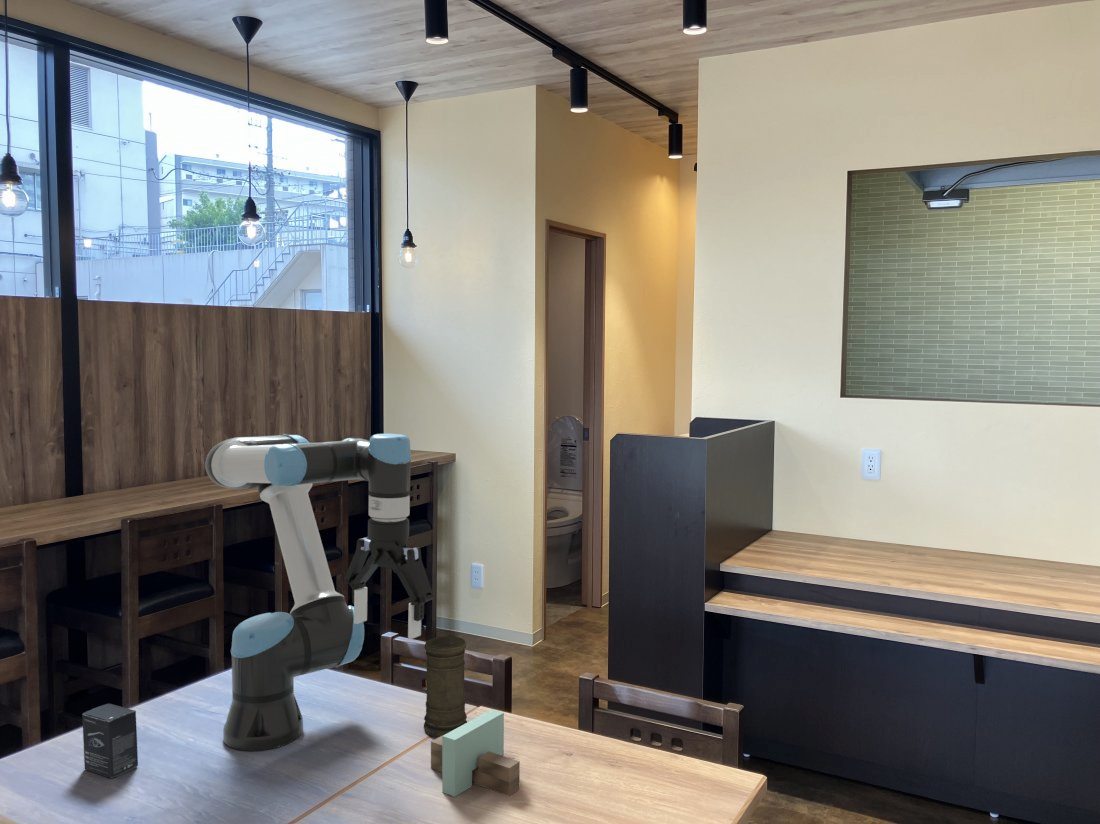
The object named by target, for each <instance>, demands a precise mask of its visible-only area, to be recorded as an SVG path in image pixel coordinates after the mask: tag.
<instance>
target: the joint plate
mask: <svg viewBox="0 0 1100 824" xmlns="http://www.w3.org/2000/svg"><path fill="white" fill-rule="evenodd" d="M504 716H505V712H503V711H500V710H496V709H490V710H488V711H486V712H483V714H481V715H478V716H476V717H475V718H473V719H471V720H470V721H467V723H465V724H464V725H462V726H460V727H458V728H456V729H454V730H453V731H451V732H449V733H447V734H445V735H443V736H442V772H441V774H442V775H441V777H442V779H441V781H442V789H441V791H442V793H444V794H446V795H449V796H452V797H455V798H456V797H457V796H458V795H460V794H462V793H464V791H466V790H468V789H470V788H471V787H472V786H473V783H472V771H473V770H474V769H476V768H477V767H478V758H479V757H480V756H482V755H484V754H485V753H487V752H489V751H490V752H493V753H496V754H499V755H502V756H504V754H505V753H504V752H505V751H504V750H505V747H504V744H505V741H504V740H505V737H504V736H505V735H504V734H505V733H504V732H505V728H504V727H505V725H504V724H505V717H504Z"/></svg>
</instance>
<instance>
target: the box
mask: <svg viewBox="0 0 1100 824" xmlns="http://www.w3.org/2000/svg"><path fill="white" fill-rule="evenodd" d="M81 715H82V716H81V718H82V719H81V720H82V738H83V739H82V740H83V759H84V760H83V761H84V762H83V763H84V770H86V771H89V772H91V773H95V774H98V775H101V776H103V777H107V778H109V779H113V778H116V777H117V778H118V777H119V776H121V775H123V774H125V773H127V772H130V771H131V770H133V769H136V768H137V767H138V765H139V762H138V761H139V760H138V759H139V758H138V756H139V755H138V734H137V733H138V732H137V731H138V729H137V728H138V727H137V711H136V710H134V709H130V708H128V707H127V708H126V707H123V706H119V705H117V704H112V703H106V704H103V705H102V704H101V705H100V706H97V707H94V708H91V709H90V710H86V711H85V712H83V713H82V714H81Z"/></svg>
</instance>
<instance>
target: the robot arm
mask: <svg viewBox="0 0 1100 824" xmlns="http://www.w3.org/2000/svg"><path fill="white" fill-rule="evenodd" d="M411 462H412V454H411V440H410V438H409V437H408V436H407V435H404V434H401V433H399V434H398V433H376V434H373V435H371V436H370V438H369V440H368V439H364V438H362V437H361V438H360V437H349V438H344V439H343V440H337V441H336V440H335V441H324V442H323V441H322V442H309V440H308V439H306V437H303V436H301V435H299V434H287V433H283V434H279V435H263V436H260V435H259V436H236V437H231V438H227V439H225V440H222V441H221V442H219V443H217V444H216V445H214V446H213V447H212V448H211V449H210V450H209V451H208V454H207V455H206V459H205V463H204V468H205V471H206V475H207V476H208V477H209V480H211V481H212V482H213V483H214V484H215V485H217V486H219V487H222V488H225V489H228V490H250V489H254V490H255V489H257V490H258V494H259V497H260V500H261V501H263V502H265V503H267V504H269V509H270V511H271V517H272V519H273V524H274V527H275V531H276V535H277V539H278V543H279V548H280V551H281V555H282V559H283V562H284V566H285V569H286V574H287V577H288V582H289V584H290V585H289V586H290V589H291V593H292V597H293V600H294V604H293V607H292V608H291V610H290V612H289V613H288V612H286V611H285V612H284V611H276V612H275V611H274V612H265V613H260V614H257V615H254V616H251V617H249V618H247V619H245V620H243V621H242V622H240V623H239V624H238V625H237V626H236V627H235V628H234V630H233V631H232V638H231V640H232V641H231V648H230V654H231V683H232V684H231V686H232V687H231V689H232V695H231V696H232V697H231V698H232V699H231V704H230V707H229V711H228V714H227V717H226V720H225V721H226V722H225V724H223V725H224V726H223V733H222V735H223V736H222V737H223V739H224V740H223V743H224V742H225V743H226V744H227V745H228V746H227V745H226V744H225V743H224V744H225V745H226V746H227V747H229V748H231V749H234V748H235V749H234V750H238V751H247V752H248V751H250V752H251V751H256V752H257V751H265V750H271V749H275V748H279V747H282V746H285V745H288V744H290V743H292V742H293V741H296V740H297V739H298V738H300V736H301V735H302V734H303V731H304V720H303V715H302V713H301V709H300V707H299V704H298V701H297V699H296V696H295V693H294V692H295V691H294V681H295V680H294V679H295V678H297V677H300V676H303V675H307V674H311V673H315V672H319V671H320V672H321V671H323V670H328V669H331V668H339V667H340V666H343V665H345V664H348V663H352V662H354V661H355V660H356V659H357V658H358V657H359V656H360V653H361V651H362V649H363V644H364V642H365V641H364V640H365V624H364V623H365V622H367V621H368V587H367V584H366V583H367V582H368V580H369V579H370V578H371V576H372V575H373V574H374V572H375V571H377V569H378V567H379V568H386V569H387V570H388V569H389V570H392V571H393V573H395V574H397V578H398V579H399V580H400V582H401V584H402V586H403V587H404V590H406V593H407V595H408V596H409V598H410V600H411V602H409V603H408V614H407V615H408V621H407V623H408V624H407V627H408V628H407V639H409V640H413V639H415V638H418V637H421V636H422V620H424V619H425V604H426V603H427V602H429V601H431V600H434V598H435V596H434V592H433V590H432V587H431V583H430V580H429V578H428V575H427V572H426V569H425V566H424V563H423V561H422V550H421V548H420V547H419V546H418V547H413V548H412V547H411V548H410V547H408V545H407V541H408V538H409V537H410V519H409V518H408V517H409V516H410V511H411V509H410V508H411V507H410V505H411V503H410V502H411V501H410V500H411V499H410V498H411V497H410V490H411V466H412V465H411V464H412V463H411ZM351 480H362V481H366V482H368V516H369V517H370V518H369V519H368V520H367V536H366V537H363V538H358V539H357V540H356V549H355V553H354V554H353V556H352V559H351V562H350V564H349V567H348V569H347V571H346V573H345V576H344V579H343V583H344V584H345V585H349V586H350V587H351V589H352V597H351V601H352V605H347V602H346V599H345V598H346V597H345V596H344V595H343V594H342V593H340V592H337V591H336V589H335V585H334V582H333V579H332V575H331V571H330V567H329V563H328V560H327V557H326V553H325V549H324V546H323V543H322V539H321V535H320V532H319V528H318V525H317V521H316V518H315V517H316V516H315V514H314V510H313V506H312V503H311V499H310V497H309V492H310V490H311V489H312V488H313V484H317V483H330V482H340V481H351ZM369 553H371V555H370V556H369ZM368 556H369V557H368ZM367 557H368V558H367ZM353 605H354V606H353Z"/></svg>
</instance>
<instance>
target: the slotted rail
mask: <svg viewBox="0 0 1100 824" xmlns="http://www.w3.org/2000/svg"><path fill="white" fill-rule="evenodd" d="M520 764H521V763H520V760H516V759H513V758H511V757H508V756H502V755H499V754H496V753H493V752H490V751H489V752H487V753H485V754H484V755H482V756H480V757H479V758H478V767H477V768H476V769H474V770H473V771H472V784H473V785H474V784H475V785H477V786H478V787H482V788H485V789H487V790H492V791H493V792H495V793H499V794H502V795H505V796H507V797H511V796H512V795H513V794H515V793H516V792H517V791H519V790H520V776H521V775H520V772H521V771H520V769H521V768H520V766H521V765H520ZM430 769H432V770H435V771H438V772H440V773H442V736H440V737H436V738H435V739H433V740H432V741H430Z"/></svg>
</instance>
